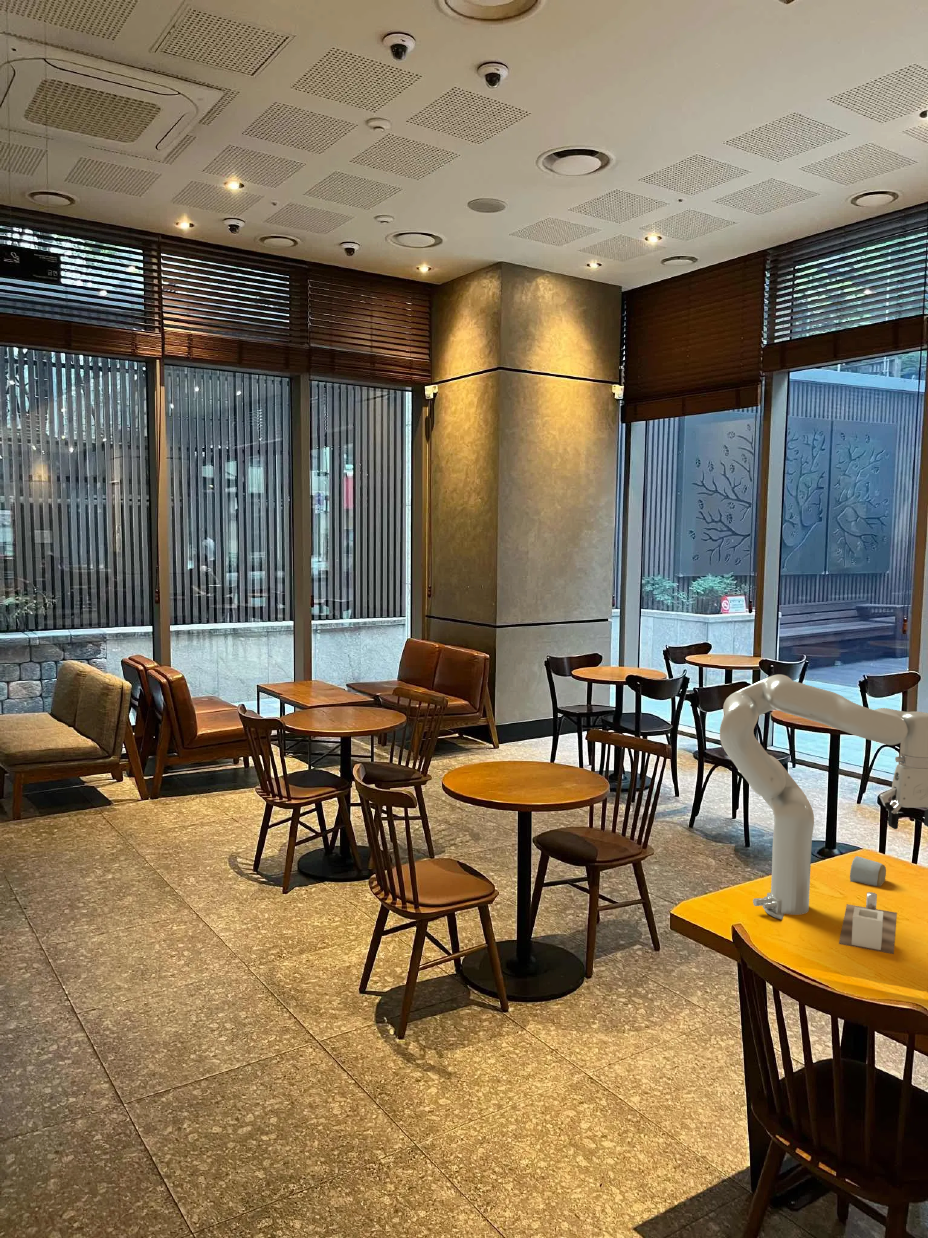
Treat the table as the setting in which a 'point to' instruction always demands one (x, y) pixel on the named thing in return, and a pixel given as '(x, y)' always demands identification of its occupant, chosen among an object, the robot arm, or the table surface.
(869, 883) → the ceramic mug
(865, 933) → the cream housing
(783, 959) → the table surface
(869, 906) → the metal stub
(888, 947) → the walnut board
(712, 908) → the table surface
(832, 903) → the table surface
